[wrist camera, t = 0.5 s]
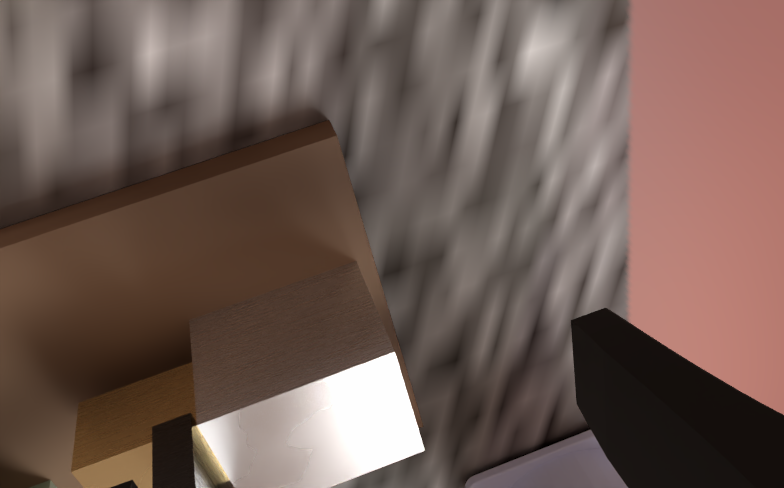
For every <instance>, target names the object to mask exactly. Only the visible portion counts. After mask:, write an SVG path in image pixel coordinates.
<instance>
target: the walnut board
mask: <svg viewBox="0 0 784 488" xmlns="http://www.w3.org/2000/svg"><path fill="white" fill-rule="evenodd" d="M354 261H357V264H358V266H359V268H360V271H361V273H362V276H363V278H364V280H365V283H366V285H367V287H368V290H369V292H370V294H371V297H372V299H373V302H374V304H375V306H376V309H377V311H378V313H379V316H380V318H381V320H382V323H383V325H384V328H385V330H386V332H387V335H388V337H389V339H390V342H391V344H392V347H393V349H394V351H395V354H396V358H397V361H398V364H399V367H400V371H401V374H402V377H403V380H404V384H405V387H406V390H407V393H408V397H409V400H410V403H411V407H412V410H413V413H414V416H415V420H416V423H417V426H418V429H419V428H421V427H424V426H423V423H422V420H421V416H420V413H419V409H418V406H417V403H416V399H415V396H414V393H413V389H412V386H411V383H410V379H409V376H408V372H407V369H406V366H405V362H404V359H403V356H402V352H401V349H400V346H399V342H398V339H397V336H396V332H395V329H394V325H393V322H392V319H391V315H390V312H389V309H388V305H387V302H386V299H385V295H384V292H383V288H382V285H381V282H380V278H379V275H378V272H377V268H376V265H375V262H374V258H373V255H372V252H371V248H370V245H369V241H368V238H367V235H366V231H365V228H364V225H363V221H362V218H361V215H360V211H359V208H358V204H357V201H356V198H355V194H354V191H353V188H352V184H351V181H350V178H349V174H348V171H347V168H346V164H345V161H344V157H343V154H342V151H341V147H340V144H339V141H338V137H337V135H336V133H335V131H334V129H333V127H332V125H331V123H330V121H329V120H327V121H324V122H321V123H318V124H315V125H312V126H309V127H306V128H303V129H300V130H297V131H294V132H291V133H288V134H285V135H282V136H279V137H276V138H273V139H270V140H267V141H264V142H261V143H258V144H255V145H252V146H249V147H246V148H243V149H240V150H237V151H234V152H231V153H228V154H225V155H222V156H219V157H216V158H213V159H210V160H207V161H204V162H201V163H198V164H195V165H192V166H189V167H186V168H183V169H180V170H177V171H174V172H171V173H168V174H165V175H162V176H159V177H156V178H153V179H150V180H147V181H144V182H141V183H138V184H135V185H132V186H129V187H126V188H123V189H120V190H117V191H114V192H111V193H108V194H105V195H102V196H99V197H96V198H93V199H90V200H87V201H84V202H81V203H78V204H75V205H72V206H69V207H66V208H63V209H60V210H57V211H54V212H51V213H48V214H45V215H42V216H39V217H36V218H33V219H30V220H27V221H24V222H21V223H18V224H15V225H12V226H9V227H6V228H3V229H0V488H30V487H32V486H35V485H38V484H40V483H43V482H46V481H48V480H51V481H52V482H53V483H54V484H55V486H56V487H57V488H84V487H83V486H82V485H81V484H80V483H79V481H78V480H77V479H76V478H75V477H74V475H73V474H72V473H71V466H72V457H73V448H74V440H75V431H76V422H77V413H78V404H79V402H82V401H85V400H88V399H90V398H93V397H96V396H99V395H101V394H104V393H107V392H110V391H112V390H115V389H118V388H121V387H124V386H126V385H129V384H132V383H135V382H137V381H140V380H143V379H146V378H148V377H151V376H154V375H157V374H160V373H162V372H165V371H168V370H171V369H173V368H176V367H179V366H182V365H184V364H187V363H190V362H192V351H191V338H190V324H189V320H191V319H194V318H197V317H200V316H202V315H205V314H208V313H211V312H214V311H217V310H219V309H222V308H225V307H228V306H231V305H233V304H236V303H239V302H242V301H245V300H248V299H250V298H253V297H256V296H259V295H262V294H264V293H267V292H270V291H273V290H276V289H278V288H281V287H284V286H287V285H290V284H293V283H295V282H298V281H301V280H304V279H307V278H309V277H312V276H315V275H318V274H321V273H324V272H326V271H329V270H332V269H335V268H338V267H340V266H343V265H346V264H349V263H352V262H354ZM232 485H233V484H232ZM233 488H234V486H233Z"/></svg>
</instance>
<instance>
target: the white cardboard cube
mask: <svg viewBox="0 0 784 488" xmlns="http://www.w3.org/2000/svg"><path fill="white" fill-rule="evenodd" d="M189 324H190V338H191V351H192V365H193V379H194V393H195V407H196V420H197V426H198V428H199V430H200V431H201V433H202V435H203V436H204V438H205V440H206V441H207V443H208V445H209V446H210V448H211V450H212V451H213V453H214V455H215V456H216V458H217V459H218V461H219V463H220V464H221V466H222V468H223V469H224V471H225V473H226V474H227V476H228V478H229V479H230V481H231V483H232V484H233V486H234V488H330V487H332V486H335V485H337V484H340V483H343V482H345V481H348V480H350V479H353V478H355V477H358V476H361V475H363V474H366V473H368V472H371V471H373V470H376V469H379V468H381V467H384V466H386V465H389V464H392V463H394V462H397V461H399V460H402V459H404V458H407V457H410V456H412V455H415V454H417V453H420V452H422V451H425V449H424V446H423V443H422V439H421V436H420V433H419V429H418V426H417V423H416V420H415V416H414V413H413V410H412V407H411V403H410V400H409V397H408V393H407V390H406V387H405V384H404V380H403V377H402V374H401V371H400V367H399V364H398V361H397V358H396V354H395V351H394V349H393V347H392V344H391V342H390V339H389V337H388V335H387V332H386V330H385V328H384V325H383V323H382V320H381V318H380V316H379V313H378V311H377V309H376V306H375V304H374V302H373V299H372V297H371V294H370V292H369V290H368V287H367V285H366V283H365V280H364V278H363V276H362V273H361V271H360V268H359V266H358V264H357V261H354V262H352V263H349V264H346V265H343V266H340V267H338V268H335V269H332V270H329V271H326V272H324V273H321V274H318V275H315V276H312V277H309V278H307V279H304V280H301V281H298V282H295V283H293V284H290V285H287V286H284V287H281V288H278V289H276V290H273V291H270V292H267V293H264V294H262V295H259V296H256V297H253V298H250V299H248V300H245V301H242V302H239V303H236V304H233V305H231V306H228V307H225V308H222V309H219V310H217V311H214V312H211V313H208V314H205V315H202V316H200V317H197V318H194V319H191V320H189Z"/></svg>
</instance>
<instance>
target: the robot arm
mask: <svg viewBox="0 0 784 488" xmlns="http://www.w3.org/2000/svg"><path fill="white" fill-rule="evenodd" d="M571 328H572V343H573V357H574V372H575V387H576V401H577V405H578V407H579V409H580V410H581V412H582V414H583V416H584V418H585V420H586V422H587V423H588V425H589V427H590V430H588V431H585V432H583V433H580V434H578V435H575V436H573V437H570V438H568V439H565V440H563V441H560V442H558V443H555V444H552V445H550V446H547V447H545V448H542V449H540V450H537V451H535V452H532V453H530V454H527V455H525V456H522V457H519V458H517V459H514V460H512V461H509V462H507V463H504V464H502V465H499V466H497V467H494V468H492V469H489V470H487V471H484V472H481V473H479V474H476V475H474V476H472V477H470V478H469V479H468V480H467V482H466V484H465V488H784V415H783V414H781V413H779V412H777V411H775V410H773V409H771V408H769V407H768V406H766V405H764V404H762V403H760V402H758V401H756V400H755V399H753V398H751V397H749V396H748V395H746V394H744V393H742V392H740V391H739V390H737V389H735V388H734V387H732V386H730V385H728V384H727V383H725V382H723V381H722V380H720V379H718V378H717V377H715V376H713V375H712V374H710V373H708V372H706V371H705V370H703V369H701V368H700V367H698V366H696V365H695V364H693V363H692V362H690V361H688V360H687V359H685V358H683V357H682V356H680V355H679V354H677V353H676V352H674V351H672V350H671V349H669V348H668V347H666V346H664V345H663V344H661V343H660V342H658V341H657V340H655V339H654V338H652V337H650V336H649V335H647V334H646V333H644V332H643V331H641V330H640V329H638V328H637V327H635V326H634V325H632V324H631V323H629V322H627V321H626V320H624V319H623V318H621V317H620V316H618V315H617V314H615V313H614V312H612V311H610V310H608V309H607V308H604V309H601V310H598V311H595V312H593V313H590V314H587V315H584V316H582V317H579V318H576V319H573V320H571ZM110 488H138V487H137V485H136V484H135V482H134V481H133V480H130V481H127V482H124V483H121V484H119V485H116V486H113V487H110Z"/></svg>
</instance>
